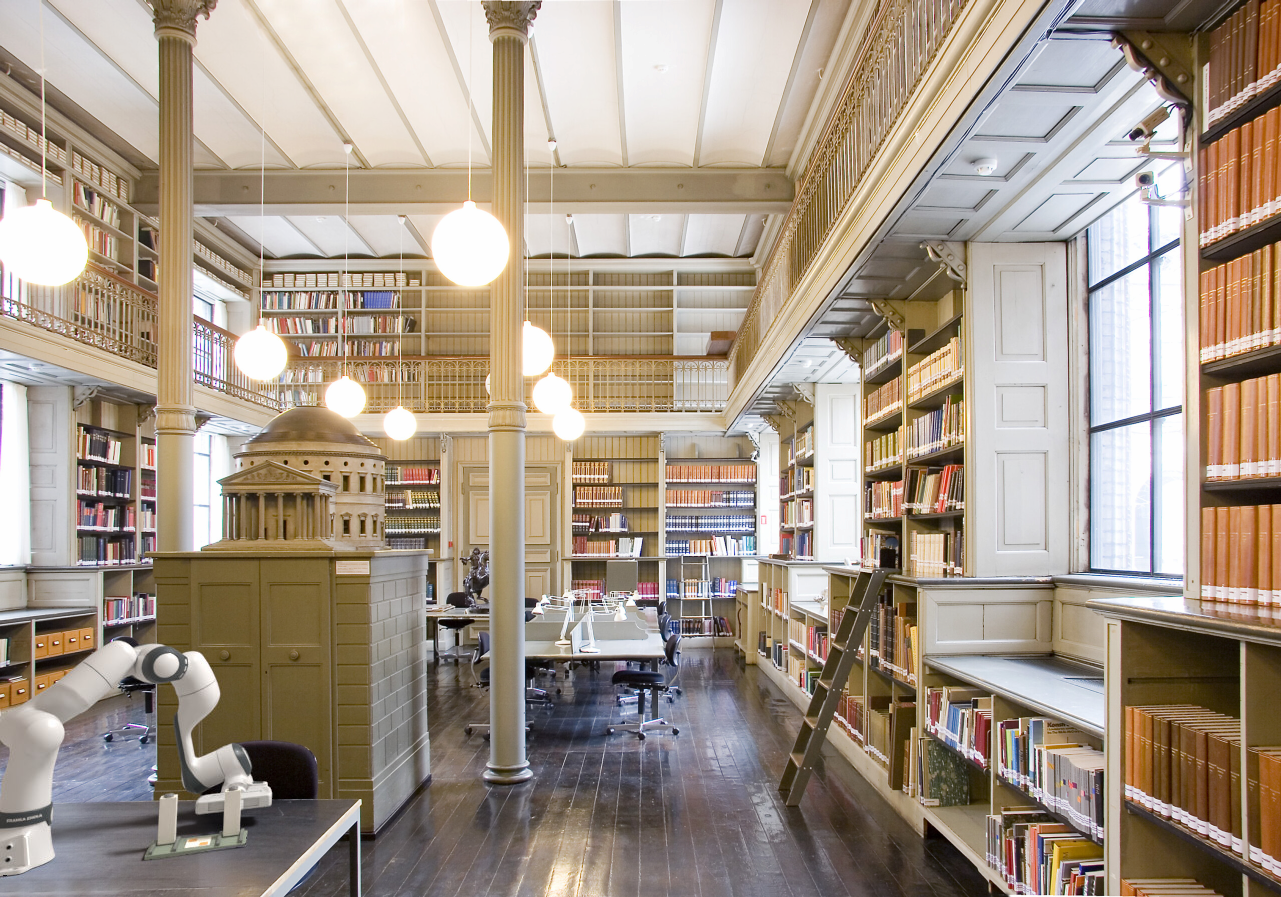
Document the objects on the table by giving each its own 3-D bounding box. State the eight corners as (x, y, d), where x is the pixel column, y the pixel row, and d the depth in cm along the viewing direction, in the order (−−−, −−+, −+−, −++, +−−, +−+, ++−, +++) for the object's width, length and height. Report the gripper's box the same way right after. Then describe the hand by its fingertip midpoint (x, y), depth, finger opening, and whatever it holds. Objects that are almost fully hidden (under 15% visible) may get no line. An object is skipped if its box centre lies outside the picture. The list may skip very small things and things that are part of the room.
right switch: (223, 833, 236) (225, 786, 237) (239, 831, 237) (241, 785, 239) (223, 836, 233) (225, 789, 234) (238, 834, 234) (240, 788, 236)
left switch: (159, 841, 230) (161, 793, 231) (175, 839, 231) (178, 792, 232) (157, 845, 227) (160, 796, 228) (174, 842, 228) (176, 795, 230)
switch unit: (151, 846, 230) (151, 839, 230) (247, 833, 239) (247, 827, 239) (144, 860, 220) (144, 853, 220) (245, 847, 229) (245, 840, 229)
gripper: (197, 788, 248) (192, 802, 235) (272, 781, 256) (271, 793, 243) (196, 810, 248) (191, 825, 235) (272, 802, 255) (270, 816, 243)
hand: (232, 809), depth 239 cm, fingers closed
